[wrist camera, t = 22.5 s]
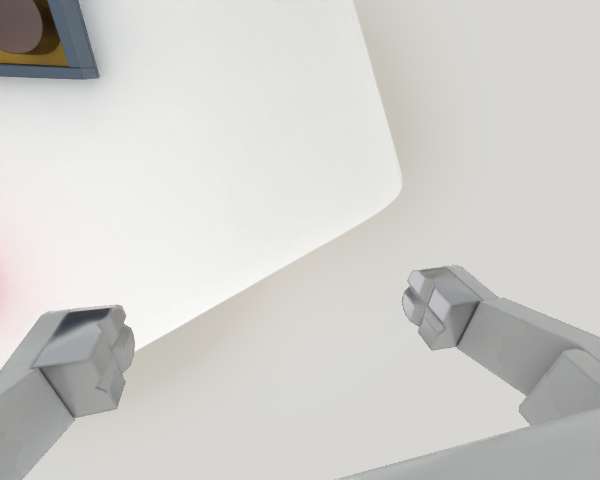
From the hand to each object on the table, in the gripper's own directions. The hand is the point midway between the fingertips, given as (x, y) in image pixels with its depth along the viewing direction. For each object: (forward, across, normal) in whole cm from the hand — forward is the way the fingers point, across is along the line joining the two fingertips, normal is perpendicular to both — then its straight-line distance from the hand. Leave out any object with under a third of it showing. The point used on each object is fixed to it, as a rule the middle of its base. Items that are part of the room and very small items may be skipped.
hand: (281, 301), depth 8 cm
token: (+26, +16, -8) cm, 32 cm away
